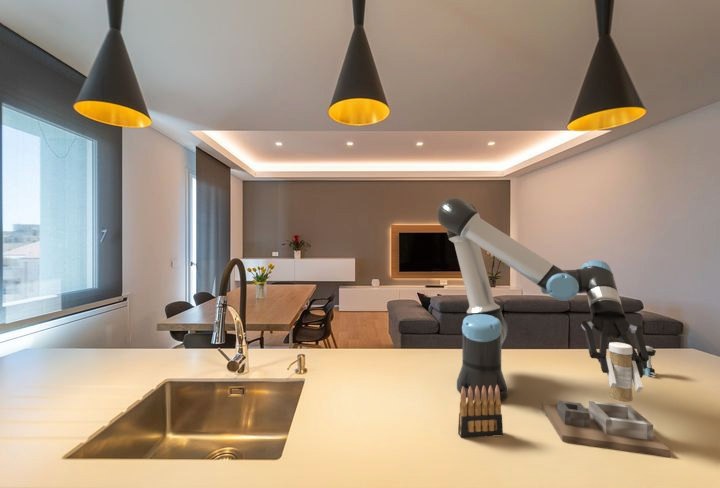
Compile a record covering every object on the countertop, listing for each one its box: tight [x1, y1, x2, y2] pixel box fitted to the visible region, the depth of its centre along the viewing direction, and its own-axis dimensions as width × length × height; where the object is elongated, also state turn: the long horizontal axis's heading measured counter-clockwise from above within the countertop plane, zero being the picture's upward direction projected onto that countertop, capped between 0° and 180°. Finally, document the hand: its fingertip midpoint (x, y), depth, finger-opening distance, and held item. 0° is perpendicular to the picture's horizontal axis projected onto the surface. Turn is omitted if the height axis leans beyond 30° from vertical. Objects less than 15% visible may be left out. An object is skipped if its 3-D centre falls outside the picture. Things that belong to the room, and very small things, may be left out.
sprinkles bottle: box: [608, 341, 634, 403], centre depth 79 cm, size 5×5×14 cm
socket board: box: [541, 400, 671, 458], centre depth 80 cm, size 21×16×5 cm
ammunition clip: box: [457, 385, 504, 439], centre depth 78 cm, size 11×2×12 cm, turn 96°
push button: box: [635, 345, 657, 378], centre depth 115 cm, size 7×5×10 cm
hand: (626, 387), depth 75 cm, fingers closed on sprinkles bottle, 4 cm apart
